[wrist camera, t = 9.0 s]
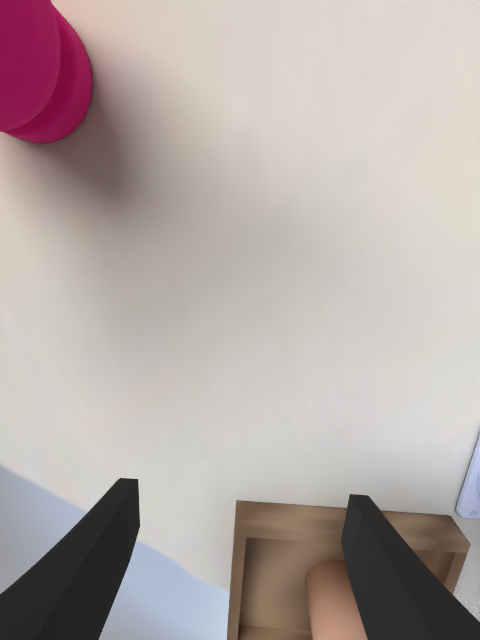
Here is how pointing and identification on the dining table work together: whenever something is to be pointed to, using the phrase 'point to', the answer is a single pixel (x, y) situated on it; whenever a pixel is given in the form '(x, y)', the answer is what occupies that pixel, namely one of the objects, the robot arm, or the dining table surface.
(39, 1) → the pepper mill
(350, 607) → the terracotta shaker
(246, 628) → the walnut tray
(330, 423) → the dining table surface
